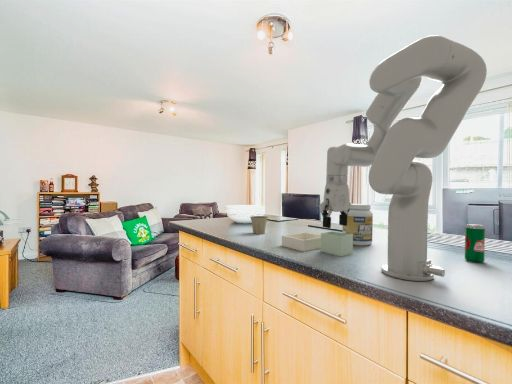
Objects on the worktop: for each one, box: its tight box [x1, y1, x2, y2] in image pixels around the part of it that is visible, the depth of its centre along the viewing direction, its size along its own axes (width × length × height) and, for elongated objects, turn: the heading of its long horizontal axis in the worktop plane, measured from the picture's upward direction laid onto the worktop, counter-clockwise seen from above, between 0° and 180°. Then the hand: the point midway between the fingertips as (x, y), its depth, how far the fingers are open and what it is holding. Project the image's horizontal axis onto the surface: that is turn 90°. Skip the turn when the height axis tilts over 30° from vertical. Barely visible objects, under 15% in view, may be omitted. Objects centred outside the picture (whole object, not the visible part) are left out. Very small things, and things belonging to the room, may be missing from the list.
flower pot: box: [249, 215, 269, 235], centre depth 139 cm, size 9×9×9 cm
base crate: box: [281, 231, 321, 252], centre depth 109 cm, size 12×14×4 cm
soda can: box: [464, 223, 486, 264], centre depth 87 cm, size 5×5×12 cm
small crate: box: [320, 230, 354, 257], centre depth 99 cm, size 9×7×7 cm
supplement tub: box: [341, 203, 374, 247], centre depth 115 cm, size 12×12×17 cm
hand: (335, 226), depth 99 cm, fingers open, 9 cm apart
